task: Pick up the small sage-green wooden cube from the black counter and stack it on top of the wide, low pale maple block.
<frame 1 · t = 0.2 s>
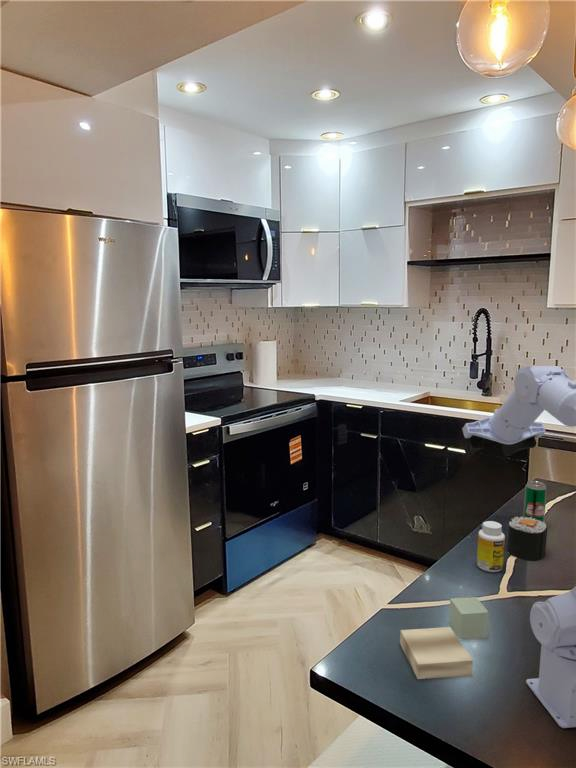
hand: (485, 451, 103), 31 cm above the countertop, tool tilted 45°, fingers open, 7 cm apart
soda can: (533, 527, 143), on the countertop
sushi: (525, 553, 128), on the countertop
maple block: (434, 660, 90), on the countertop
green cube: (467, 630, 98), on the countertop
supplement bottle: (489, 568, 121), on the countertop
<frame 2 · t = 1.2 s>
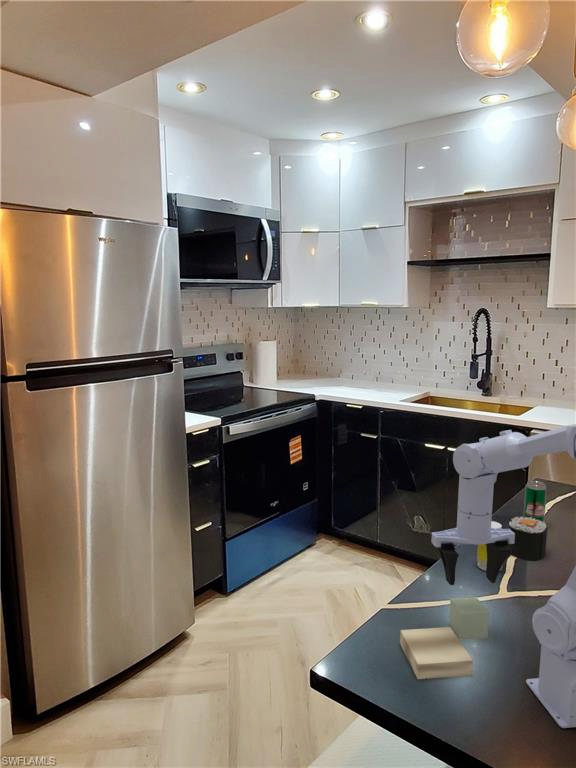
hand: (470, 581, 96), 10 cm above the countertop, tool pointing down, fingers open, 7 cm apart
nothing on the countertop moved.
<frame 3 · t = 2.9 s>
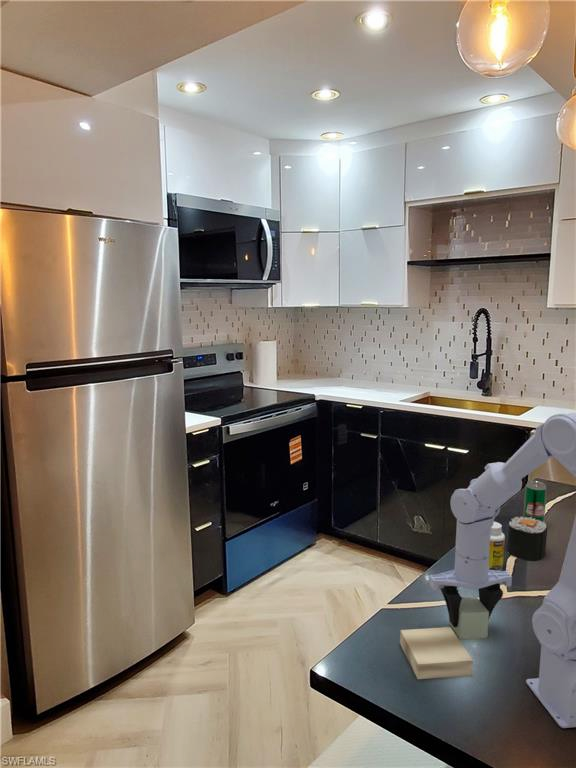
hand: (468, 622, 98), 1 cm above the countertop, tool pointing down, fingers closed on green cube, 5 cm apart
green cube: (467, 630, 98), on the countertop, touching gripper
everything else where it was.
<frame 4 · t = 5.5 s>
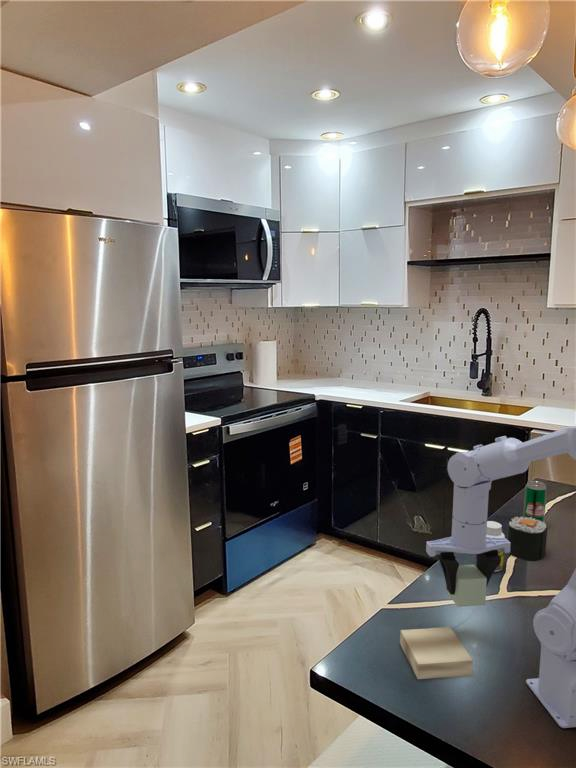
hand: (465, 590, 95), 8 cm above the countertop, tool pointing down, fingers closed on green cube, 5 cm apart
green cube: (465, 598, 96), point 7 cm above the countertop, touching gripper
everything else where it was.
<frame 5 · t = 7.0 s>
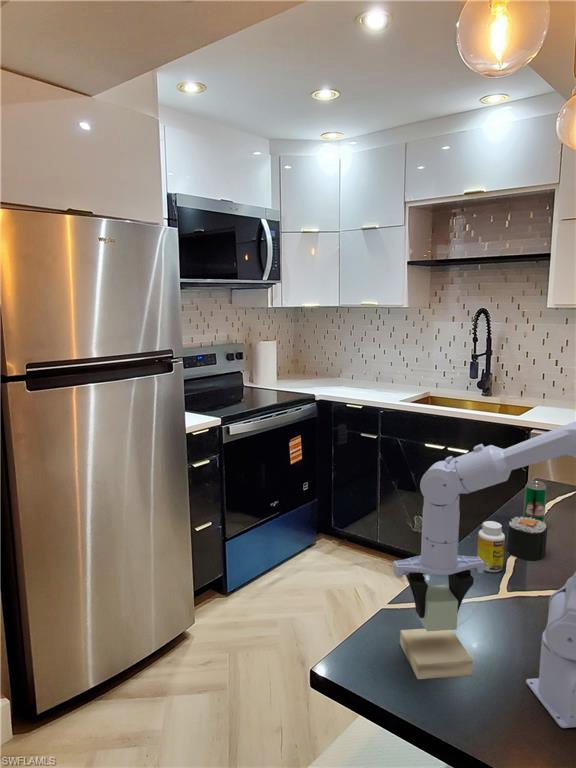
hand: (436, 613, 89), 8 cm above the countertop, tool pointing down, fingers closed on green cube, 5 cm apart
green cube: (435, 621, 89), point 7 cm above the countertop, touching gripper
everything else where it was.
when the fingers open (5 cm above the countertop, at t = 8.1 s): green cube drops 1 cm, point 3 cm above the countertop.
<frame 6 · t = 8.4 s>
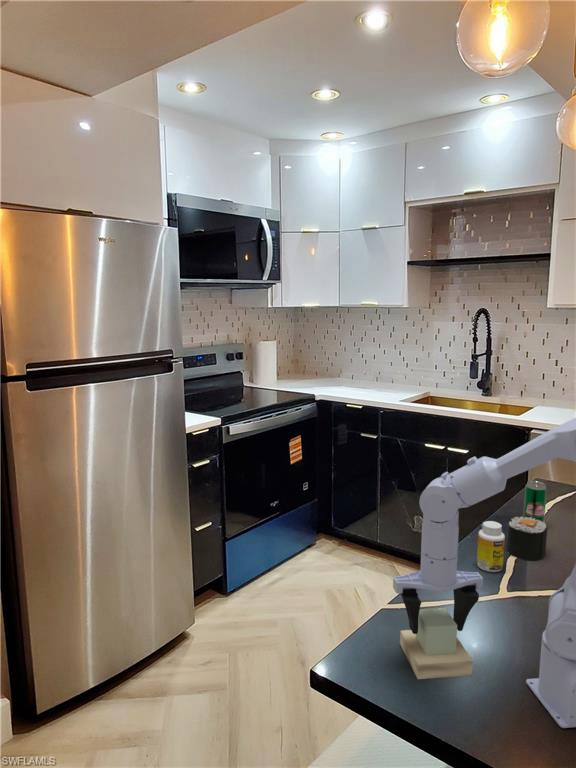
hand: (435, 628, 89), 5 cm above the countertop, tool pointing down, fingers open, 7 cm apart
green cube: (435, 644, 90), point 3 cm above the countertop
everything else where it was.
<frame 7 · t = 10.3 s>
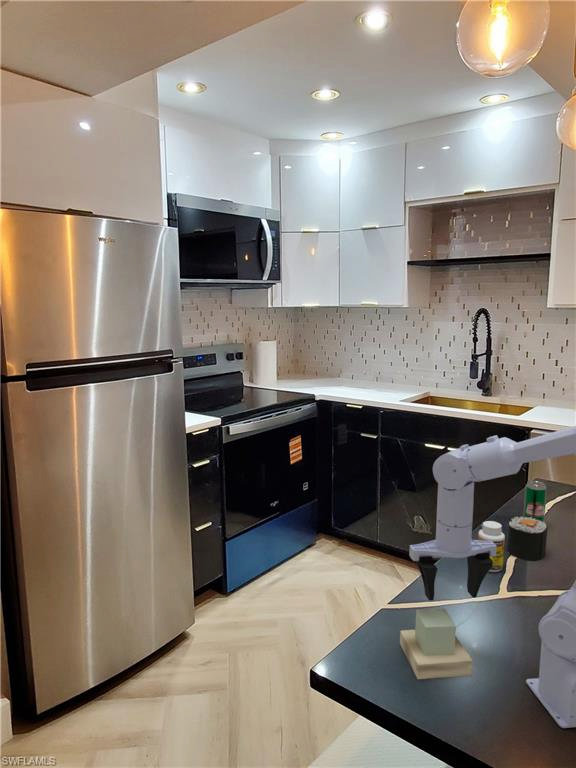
hand: (450, 595, 92), 9 cm above the countertop, tool pointing down, fingers open, 7 cm apart
nothing on the countertop moved.
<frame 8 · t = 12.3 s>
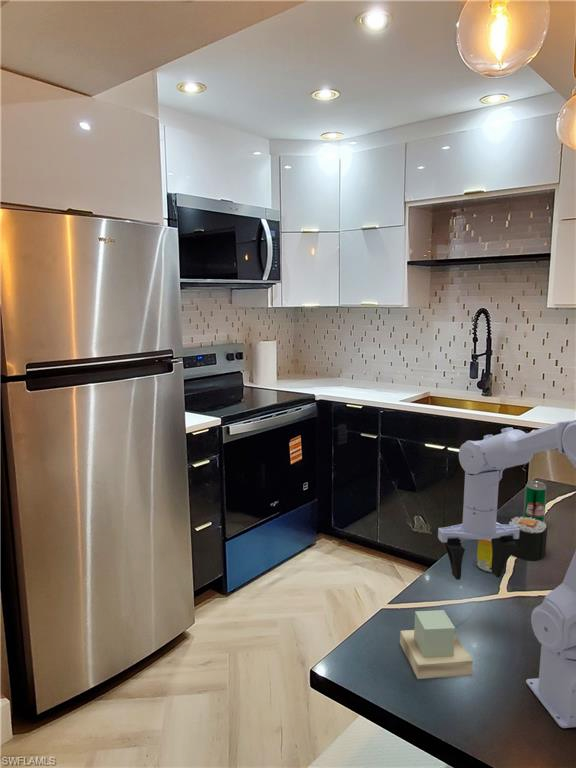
hand: (476, 575, 99), 9 cm above the countertop, tool pointing down, fingers open, 7 cm apart
maple block: (434, 661, 90), on the countertop, touching green cube
green cube: (433, 647, 89), point 2 cm above the countertop, touching maple block
everything else where it was.
at the end: green cube 0.7 cm off-centre on the maple block, point 3.0 cm above the maple block's base; green cube tilted 1°; the gripper is holding nothing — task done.
